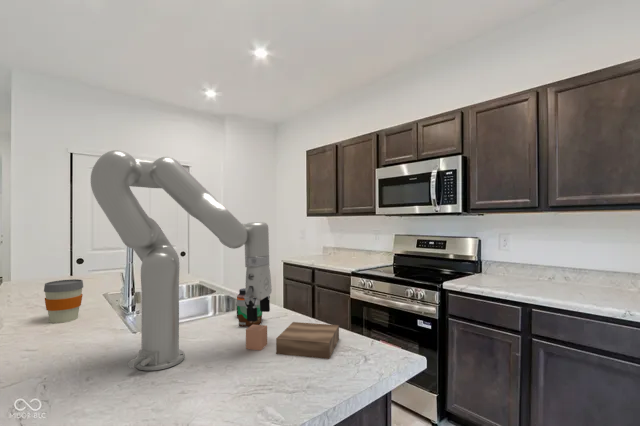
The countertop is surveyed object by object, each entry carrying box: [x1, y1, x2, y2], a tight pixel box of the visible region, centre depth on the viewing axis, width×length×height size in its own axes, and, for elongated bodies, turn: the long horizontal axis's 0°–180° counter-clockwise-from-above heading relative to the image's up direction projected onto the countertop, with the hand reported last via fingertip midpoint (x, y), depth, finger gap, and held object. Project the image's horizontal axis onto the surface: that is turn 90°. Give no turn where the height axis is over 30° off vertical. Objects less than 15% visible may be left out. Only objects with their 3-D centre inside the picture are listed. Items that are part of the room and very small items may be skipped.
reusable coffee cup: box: [43, 278, 84, 324], centre depth 132 cm, size 13×13×15 cm
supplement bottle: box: [236, 287, 246, 318], centre depth 135 cm, size 6×6×11 cm
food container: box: [235, 299, 263, 328], centre depth 126 cm, size 12×6×10 cm, turn 143°
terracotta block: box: [245, 324, 268, 351], centre depth 104 cm, size 5×5×6 cm
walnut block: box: [275, 321, 340, 360], centre depth 104 cm, size 16×16×5 cm
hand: (258, 316), depth 104 cm, fingers open, 9 cm apart
